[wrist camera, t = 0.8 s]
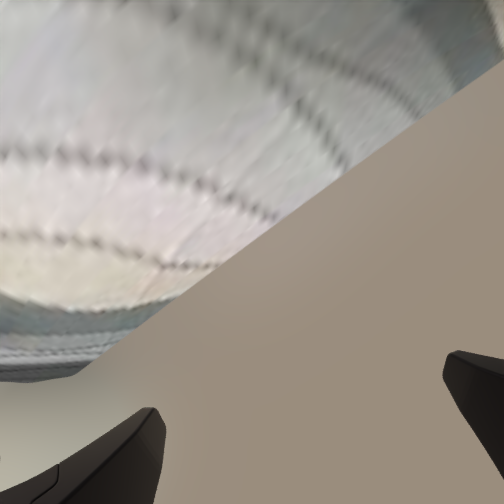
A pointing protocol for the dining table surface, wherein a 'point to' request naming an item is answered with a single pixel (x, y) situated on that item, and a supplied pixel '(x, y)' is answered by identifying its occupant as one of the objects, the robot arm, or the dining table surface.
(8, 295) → the dining table surface
